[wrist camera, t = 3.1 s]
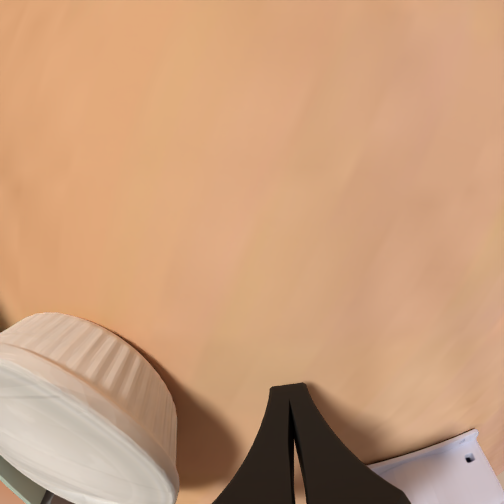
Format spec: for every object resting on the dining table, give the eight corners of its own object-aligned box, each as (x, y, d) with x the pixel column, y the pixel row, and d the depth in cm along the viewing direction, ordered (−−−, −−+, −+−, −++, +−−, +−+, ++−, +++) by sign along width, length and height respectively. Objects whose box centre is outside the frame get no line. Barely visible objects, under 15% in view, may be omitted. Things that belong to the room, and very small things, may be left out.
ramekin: (72, 445, 16) (46, 501, 11) (-20, 307, 13) (-77, 356, 8) (224, 446, 15) (217, 527, 10) (137, 265, 12) (72, 345, 7)
